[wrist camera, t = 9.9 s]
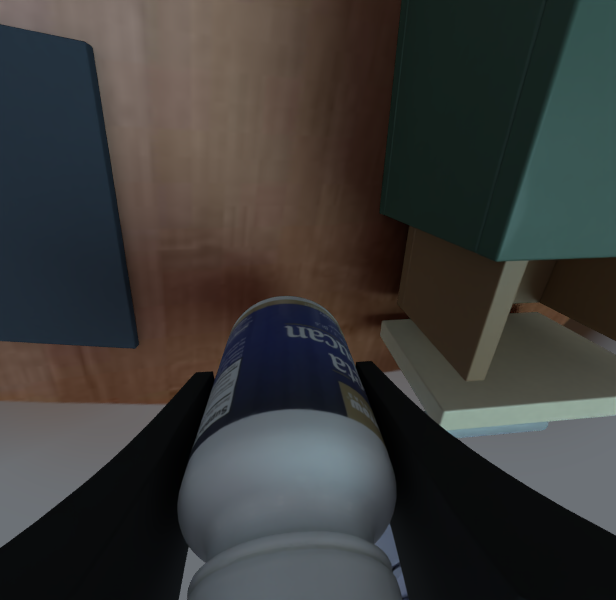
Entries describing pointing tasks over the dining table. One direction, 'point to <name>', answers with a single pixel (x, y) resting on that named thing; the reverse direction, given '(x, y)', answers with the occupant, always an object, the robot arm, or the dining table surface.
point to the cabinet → (505, 126)
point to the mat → (58, 200)
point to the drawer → (502, 338)
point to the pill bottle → (288, 467)
